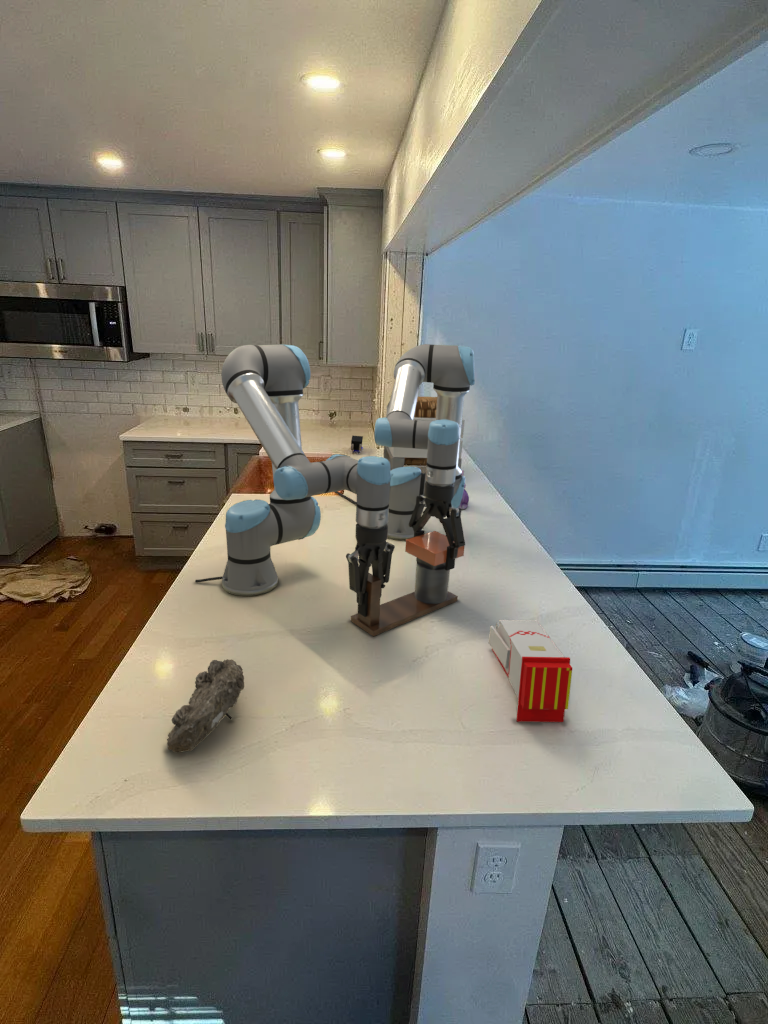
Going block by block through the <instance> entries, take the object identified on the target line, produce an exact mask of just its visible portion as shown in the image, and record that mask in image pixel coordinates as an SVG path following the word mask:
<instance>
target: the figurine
mask: <svg viewBox="0 0 768 1024" xmlns="http://www.w3.org/2000/svg"><path fill="white" fill-rule="evenodd" d="M461 471H462V476H464V477H465V470H464V469H463V470H462V469H461ZM466 486H467V485H466V483H465V485H464V491H463V495H462V499H461V503H460V506H459V507H458V508H461V510H465V509H467V508H468V507H469V502H470V496H469V494H468V491H467V490H466Z"/></svg>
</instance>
